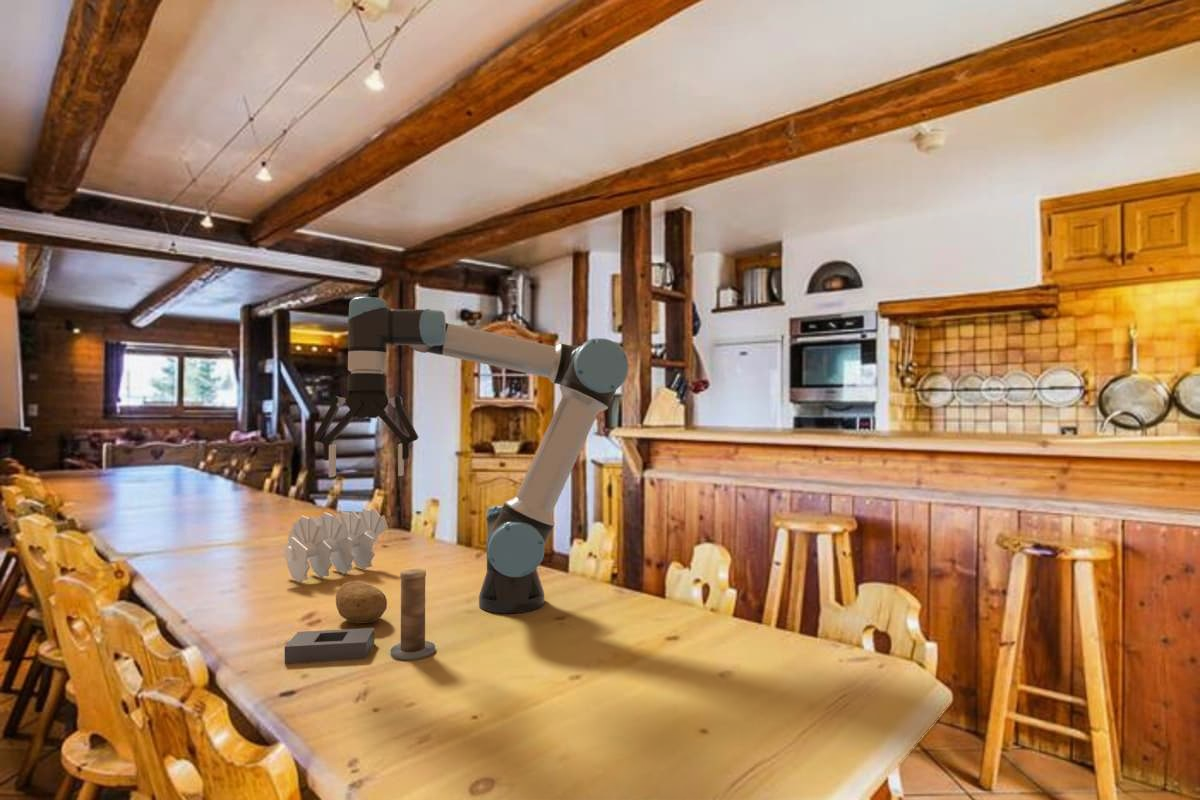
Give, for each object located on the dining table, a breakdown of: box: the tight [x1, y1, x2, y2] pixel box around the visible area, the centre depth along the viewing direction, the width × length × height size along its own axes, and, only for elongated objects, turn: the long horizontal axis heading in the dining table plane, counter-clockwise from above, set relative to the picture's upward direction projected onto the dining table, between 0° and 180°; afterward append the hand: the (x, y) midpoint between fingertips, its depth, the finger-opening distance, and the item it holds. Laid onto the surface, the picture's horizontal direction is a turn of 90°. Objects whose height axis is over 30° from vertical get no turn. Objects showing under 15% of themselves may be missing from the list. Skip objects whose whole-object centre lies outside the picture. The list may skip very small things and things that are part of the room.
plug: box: [399, 568, 427, 652], centre depth 123 cm, size 5×5×14 cm
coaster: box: [390, 640, 436, 661], centre depth 122 cm, size 8×8×1 cm
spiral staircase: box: [283, 507, 389, 584], centre depth 180 cm, size 18×18×25 cm
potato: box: [335, 580, 388, 624], centre depth 140 cm, size 10×14×8 cm
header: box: [284, 627, 375, 664], centre depth 122 cm, size 14×8×3 cm, turn 99°
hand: (366, 476), depth 135 cm, fingers open, 13 cm apart
